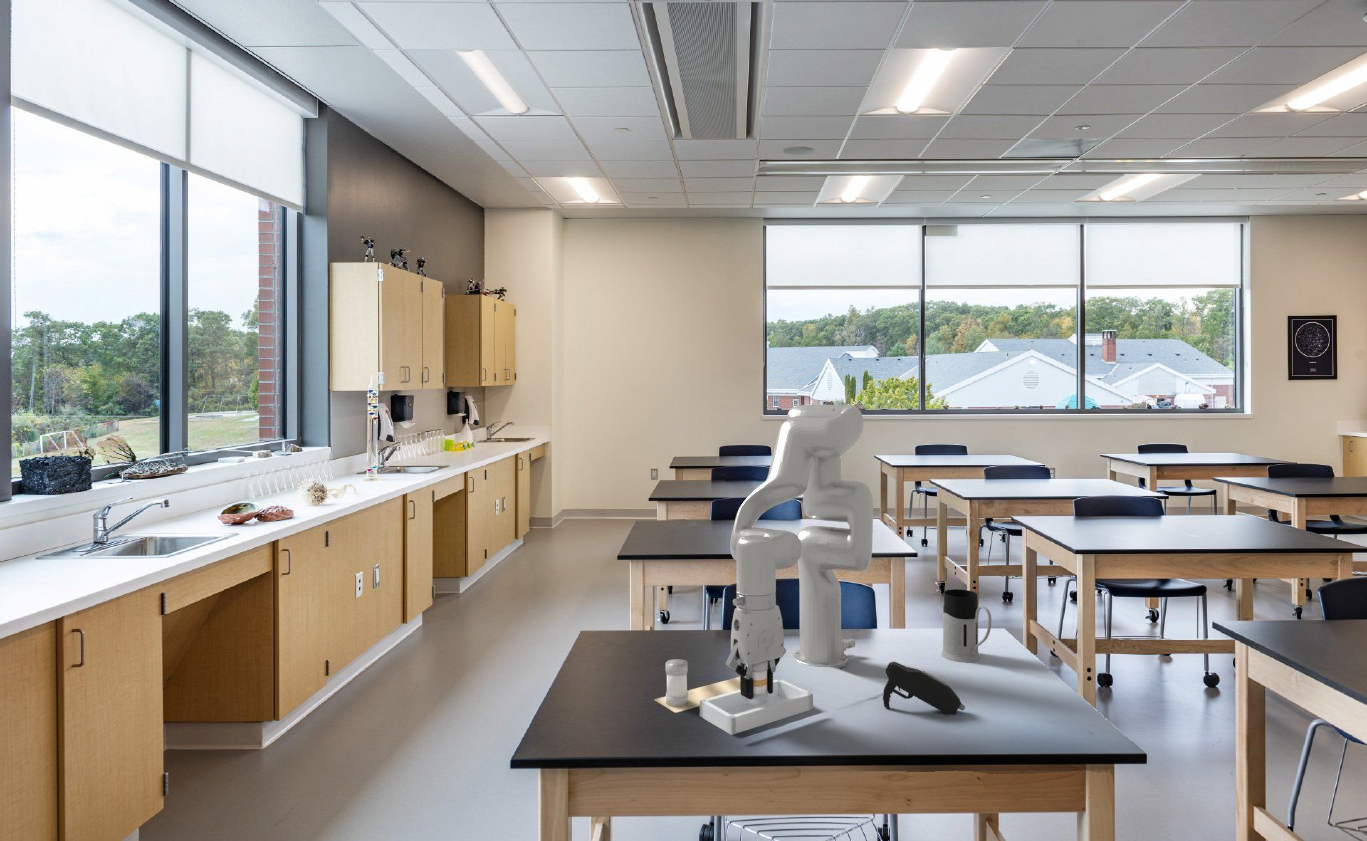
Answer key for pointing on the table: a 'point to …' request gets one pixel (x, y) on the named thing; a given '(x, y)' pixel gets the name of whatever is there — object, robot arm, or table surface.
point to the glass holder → (962, 625)
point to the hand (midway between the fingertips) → (756, 693)
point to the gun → (920, 688)
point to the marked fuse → (759, 683)
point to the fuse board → (704, 694)
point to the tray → (755, 708)
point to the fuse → (676, 683)
